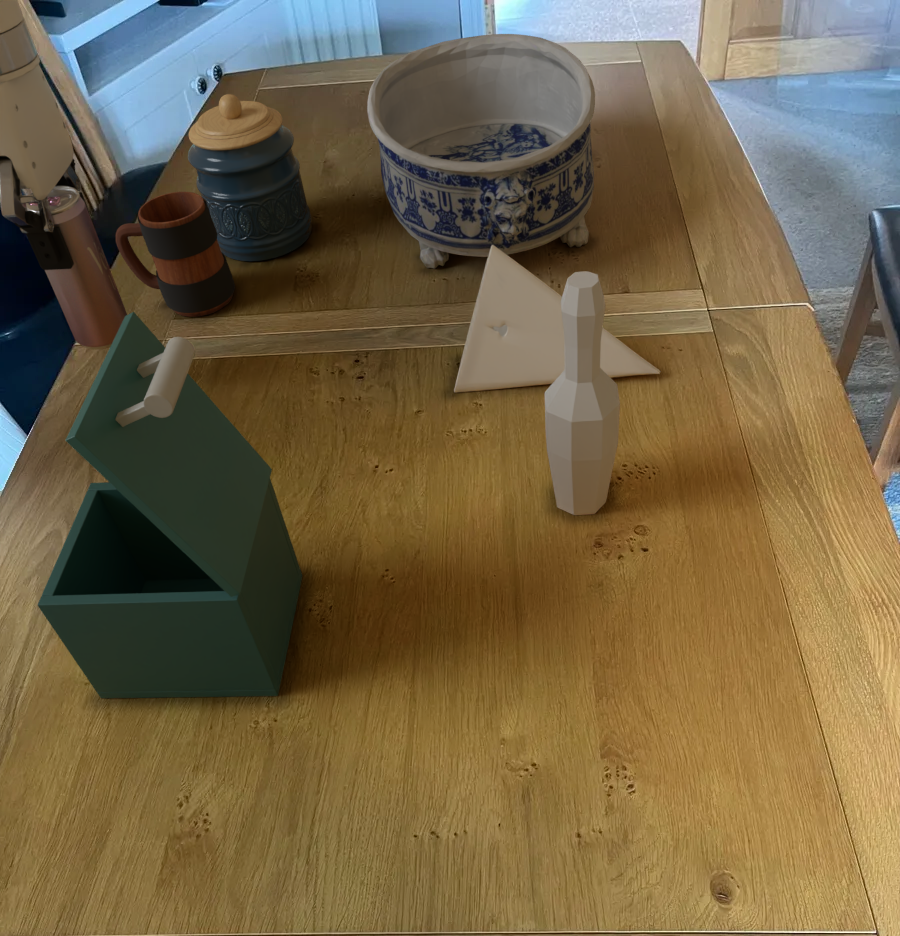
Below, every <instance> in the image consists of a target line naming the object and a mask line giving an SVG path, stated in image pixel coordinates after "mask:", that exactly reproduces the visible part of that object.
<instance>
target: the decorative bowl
mask: <svg viewBox="0 0 900 936" xmlns="http://www.w3.org/2000/svg"><path fill="white" fill-rule="evenodd" d="M366 105H367V106H366V111H367V117H368V122H369V125H370V128H371V130H372V132H373V134H374V136H375V137H376V139H377V142H378V147H379V157H380V159H379V160H380V174H381V179H382V183H383V187H384V188H383V189H384V192H385V195H386V197H387V199H388V202H389V205H390V207H391V210H392V212H393V214H394V216H395V218H396V219H397V221H398V222H399V223H400V225H401V226H402V227H403V228H404V229H405V230H406V232H407V233H408V234H409V235H410V236H411V237H412V238H414V239H415V240H417V241H418V244H419V249H420V253H419V259H420V260H421V262H422V264H423V265H424V267H426V268H427V269H429V268H431V269H436V268H437V267H439V266H442V267H443V266H445V264H446V262H448V261H449V257H450V254H452V255H459V256H465V257H466V256H467V257H481V258H486V257H487V258H488V255H489V252H490V249H491V246H492V245H494V246H495V247H497V248H498V249H500V250H501V251H502V252H504V253H505V254H506V255H508V256H509V255H513V254H517V253H521V252H526V251H530V250H533V249H536V248H538V247H541V246H545V245H546V244H549V243H551V242H552V241H553V242H554V241H555V240H557V239H558V238H560V240H561V243H563V244H564V243H565V244H567V245H568V247H569V248H573V247H574V246H575V247H577V248H581V246H582V245H583V246H585V245H586V244H587V243H588V242H589V234H590V232H589V229H588V226H587V224H586V219H585V216H586V214H587V213H588V211H589V209H590V208H591V205H592V201H593V195H594V194H593V193H594V188H595V170H594V169H595V168H594V160H593V159H594V158H593V149H592V137H591V132H592V128H591V123H592V122H591V121H592V119H593V117H594V113H595V108H596V91H595V87H594V83H593V79H592V78H591V76H590V74H589V71H588V69H587V68H586V66H585V65H584V63H583V62H582V60H580V59H579V58H578V57H577V56H576V55H575V54H574V53H573V52H571V51H570V50H569V49H568V48H566V47H564V46H563V45H561V44H559V43H557V42H554V41H551V40H548V39H546V38H543V37H540V36H533V35H527V34H520V33H519V34H518V33H494V34H493V33H492V34H480V35H474V36H467V37H461V38H456V39H450V40H445V41H442V42H437V43H434V44H431V45H428V46H426V47H422V48H419V49H415V50H412V51H410V52H408V53H406V54H405V55H402V56H400V57H398V58H396V59H395V60H393V61H392V62H390V63H389V64H388V65H387V66H386V67H384V68H383V69H382V70H381V71H380V72H379V73H378V74H377V75H376V77H375V79H374V80H373V82H372V84H371V86H370V88H369V91H368V96H367V104H366Z"/></svg>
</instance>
